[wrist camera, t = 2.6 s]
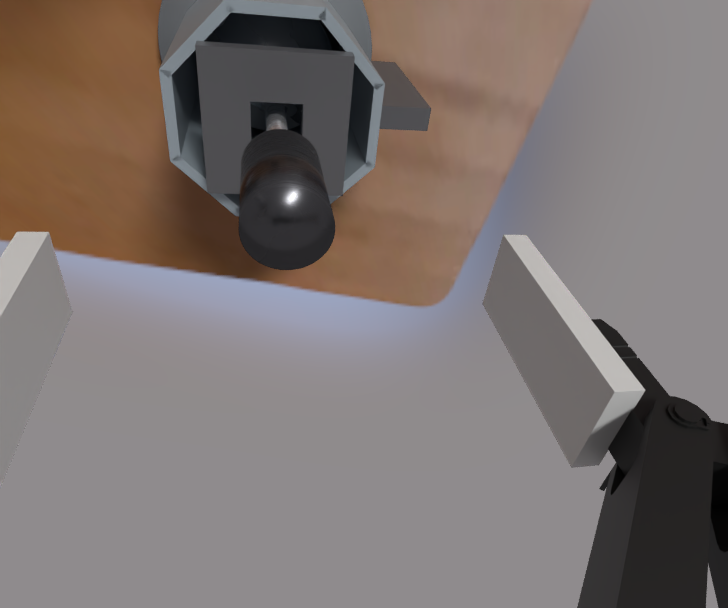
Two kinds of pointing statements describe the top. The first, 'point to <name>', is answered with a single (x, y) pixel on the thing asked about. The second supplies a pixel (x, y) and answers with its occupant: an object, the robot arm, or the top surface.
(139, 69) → the top surface
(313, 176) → the plunger
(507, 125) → the top surface
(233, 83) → the carafe
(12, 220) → the top surface
